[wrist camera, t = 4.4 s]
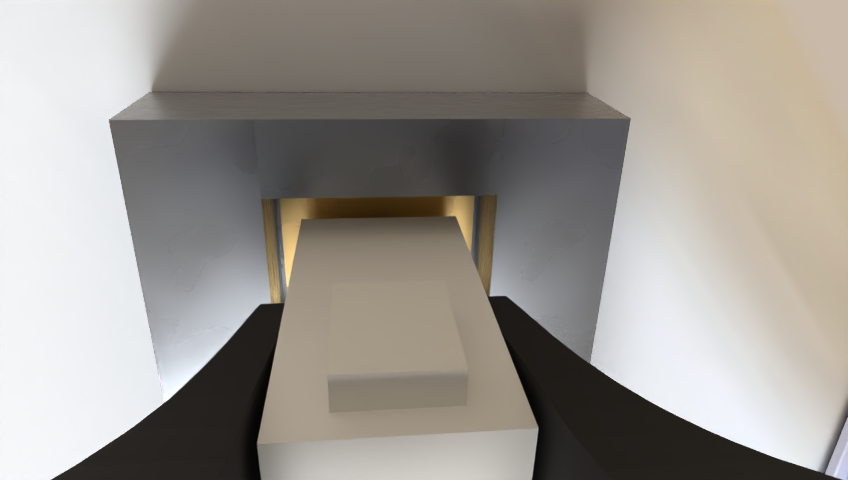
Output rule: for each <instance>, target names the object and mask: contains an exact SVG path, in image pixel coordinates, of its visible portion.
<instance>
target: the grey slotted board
mask: <svg viewBox="0 0 848 480" xmlns="http://www.w3.org/2000/svg"><path fill="white" fill-rule="evenodd" d="M630 119H631V118H629V117H627V116H625V115H624V114H622V113H620V112H619V111H617V110H615V109H614V108H612V107H610V106H609V105H607V104H605V103H604V102H602V101H600V100H599V99H597V98H595V97H593V96H592V95H590V94H588V93H298V92H149V93H148V94H146V95H145V96H143V97H142V98H140V99H139V100H137V101H136V102H135V103H133V104H132V105H130V106H129V107H127V108H126V109H124V110H123V111H121V112H120V113H118V114H117V115H115V116H114V117H112V118H111V119H109V123H110V128H111V133H112V138H113V143H114V148H115V154H116V159H117V164H118V169H119V174H120V179H121V184H122V189H123V194H124V199H125V205H126V210H127V215H128V220H129V225H130V230H131V235H132V240H133V245H134V251H135V256H136V261H137V266H138V271H139V276H140V281H141V286H142V291H143V297H144V302H145V307H146V312H147V317H148V322H149V327H150V332H151V337H152V343H153V348H154V353H155V358H156V363H157V368H158V373H159V378H160V383H161V388H162V394H163V399H164V403H165V402H166V401H167V400H168V399H170V398H171V397H172V396H173V395H174V394H175V393H176V392H177V391H178V390H179V389H181V388H182V387H183V386H184V385H185V384H186V383H187V382H188V381H189V380H190V379H191V378H192V377H193V376H194V375H195V374H196V373H197V372H198V371H200V370H201V369H202V368H203V367H204V366H205V365H206V364H207V362H208V361H209V360H210V359H211V358H212V357H213V356H214V355H215V354H216V353H217V352H218V351H219V350H220V349H221V348H222V347H223V345H224V344H225V343H226V342H227V341H228V340H229V339H230V338H231V337H232V335H233V334H234V333H235V332H236V331H237V330H238V329H239V327H240V326H241V325H242V324H243V323H244V322H245V320H246V319H247V318H248V317H249V316H250V315H251V313H252V312H253V311H254V310H255V309H256V308H257V307H258V306H259V305H260V304H270V303H285V299H286V294H287V289H288V284H289V279H290V274H291V269H292V264H293V259H294V254H295V249H296V244H297V239H298V234H299V229H300V224H301V219H335V218H387V217H439V216H456V218H457V221H458V223H459V226H460V228H461V231H462V233H463V236H464V238H465V241H466V244H467V246H468V249H469V251H470V254H471V256H472V259H473V261H474V264H475V267H476V269H477V272H478V274H479V277H480V279H481V282H482V285H483V287H484V290H485V292H486V295H487V296H507V297H508V298H509V299H511V300H512V301H513V302H514V303H515V304H517V305H518V306H519V307H520V308H521V309H522V310H524V311H525V312H526V313H527V314H528V315H529V316H531V317H532V318H533V319H534V320H535V321H536V322H538V323H539V324H540V325H541V326H542V327H543V328H545V329H546V330H547V331H548V332H549V333H551V334H552V335H553V336H554V337H556V338H557V339H558V340H559V341H560V342H562V343H563V344H564V345H566V346H567V347H568V348H569V349H571V350H572V351H573V352H575V353H576V354H577V355H579V356H580V357H581V358H583V359H584V360H585V361H587V362H588V363H590V359H591V353H592V347H593V341H594V335H595V329H596V323H597V317H598V311H599V305H600V299H601V293H602V287H603V281H604V275H605V269H606V263H607V257H608V251H609V245H610V239H611V233H612V227H613V221H614V215H615V209H616V203H617V197H618V191H619V185H620V179H621V173H622V167H623V161H624V155H625V149H626V143H627V137H628V131H629V125H630Z"/></svg>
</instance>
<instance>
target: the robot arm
mask: <svg viewBox="0 0 848 480" xmlns="http://www.w3.org/2000/svg"><path fill="white" fill-rule="evenodd" d="M487 297H488V300H489V302H490V305H491V308H492V310H493V313H494V315H495V318H496V320H497V323H498V326H499V328H500V331H501V333H502V336H503V338H504V341H505V343H506V346H507V349H508V351H509V354H510V356H511V359H512V361H513V364H514V367H515V369H516V372H517V374H518V377H519V379H520V382H521V384H522V387H523V390H524V392H525V395H526V397H527V400H528V402H529V405H530V408H531V410H532V413H533V415H534V418H535V420H536V423H537V425H538V428H539V429H538V437H537V445H536V452H535V460H534V468H533V475H532V480H848V417H847V420H846V422H845V425H844V427H843V430H842V432H841V435H840V437H839V440H838V442H837V445H836V447H835V450H834V452H833V455H832V457H831V460H830V462H829V465H828V467H827V470H826V472H825V474H823V473H820V472H817V471H814V470H811V469H808V468H805V467H802V466H798V465H795V464H792V463H789V462H786V461H783V460H780V459H777V458H774V457H771V456H769V455H766V454H764V453H761V452H759V451H756V450H753V449H751V448H748V447H746V446H743V445H741V444H738V443H735V442H733V441H730V440H728V439H726V438H724V437H721V436H719V435H717V434H714V433H712V432H710V431H707V430H705V429H703V428H701V427H699V426H697V425H695V424H693V423H691V422H688V421H686V420H684V419H682V418H680V417H678V416H676V415H674V414H672V413H670V412H668V411H666V410H664V409H662V408H660V407H659V406H657V405H655V404H653V403H651V402H649V401H648V400H646V399H644V398H643V397H641V396H639V395H638V394H636V393H634V392H632V391H631V390H629V389H627V388H626V387H624V386H622V385H621V384H619V383H618V382H616V381H614V380H613V379H611V378H610V377H608V376H607V375H605V374H604V373H602V372H601V371H600V370H598V369H597V368H595V367H594V366H592V365H591V364H590V363H588V362H587V361H585V360H584V359H583V358H581V357H580V356H579V355H577V354H576V353H575V352H573V351H572V350H571V349H569V348H568V347H567V346H566V345H564V344H563V343H562V342H560V341H559V340H558V339H557V338H556V337H554V336H553V335H552V334H551V333H549V332H548V331H547V330H546V329H545V328H543V327H542V326H541V325H540V324H539V323H538V322H536V321H535V320H534V319H533V318H532V317H531V316H529V315H528V314H527V313H526V312H525V311H524V310H522V309H521V308H520V307H519V306H518V305H517V304H515V303H514V302H513V301H512V300H511V299H509V298H508V297H507V296H487ZM284 305H285V303H270V304H260V305H259V306H258V307H257V308H256V309H255V310H254V311H253V312H252V313H251V315H250V316H249V317H248V318H247V319H246V320H245V322H244V323H243V324H242V325H241V326H240V327H239V329H238V330H237V331H236V332H235V333H234V334H233V335H232V337H231V338H230V339H229V340H228V341H227V342H226V343H225V344H224V345H223V347H222V348H221V349H220V350H219V351H218V352H217V353H216V354H215V355H214V356H213V357H212V358H211V359H210V360H209V361H208V362H207V364H206V365H205V366H204V367H203V368H202V369H201V370H200V371H198V372H197V373H196V374H195V375H194V376H193V377H192V378H191V379H190V380H189V381H188V382H187V383H186V384H185V385H184V386H183V387H182V388H181V389H179V390H178V391H177V392H176V393H175V394H174V395H173V396H172V397H171V398H170V399H168V400H167V401H166V402H165V403H164V404H162V405H161V406H160V407H159V408H157V409H156V410H155V411H154V412H152V413H151V414H150V415H148V416H147V417H146V418H144V419H143V420H142V421H141V422H139V423H138V424H137V425H135V426H134V427H133V428H131V429H130V430H128V431H127V432H126V433H124V434H123V435H121V436H120V437H118V438H117V439H115V440H114V441H112V442H111V443H109V444H108V445H106V446H105V447H103V448H101V449H100V450H98V451H97V452H95V453H94V454H92V455H91V456H89V457H88V458H86V459H85V460H83V461H82V462H80V463H79V464H77V465H75V466H74V467H72V468H70V469H69V470H67V471H65V472H64V473H62V474H60V475H58V476H57V477H55V478H53V479H52V480H261V475H260V466H259V458H258V450H257V441H258V436H259V431H260V426H261V421H262V416H263V411H264V406H265V400H266V395H267V390H268V385H269V380H270V375H271V370H272V365H273V360H274V355H275V350H276V345H277V340H278V335H279V330H280V325H281V320H282V315H283V310H284Z"/></svg>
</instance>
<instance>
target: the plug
mask: <svg viewBox="0 0 848 480" xmlns="http://www.w3.org/2000/svg"><path fill="white" fill-rule="evenodd" d="M538 429H539V428H538V425H537V423H536V420H535V418H534V415H533V413H532V410H531V408H530V405H529V402H528V400H527V397H526V395H525V392H524V390H523V387H522V384H521V382H520V379H519V377H518V374H517V372H516V369H515V367H514V364H513V361H512V359H511V356H510V354H509V351H508V349H507V346H506V343H505V341H504V338H503V336H502V333H501V331H500V328H499V326H498V323H497V320H496V318H495V315H494V313H493V310H492V308H491V305H490V302H489V300H488V297H487V295H486V292H485V290H484V287H483V285H482V282H481V279H480V277H479V274H478V272H477V269H476V267H475V264H474V261H473V259H472V256H471V254H470V251H469V249H468V246H467V244H466V241H465V238H464V236H463V233H462V231H461V228H460V226H459V223H458V221H457V218H456V216H439V217H387V218H335V219H301V224H300V229H299V234H298V239H297V244H296V249H295V254H294V259H293V264H292V269H291V274H290V279H289V284H288V289H287V294H286V299H285V305H284V310H283V315H282V320H281V325H280V330H279V335H278V340H277V345H276V350H275V355H274V360H273V365H272V370H271V375H270V380H269V385H268V390H267V395H266V400H265V406H264V411H263V416H262V421H261V426H260V431H259V436H258V441H257V450H258V458H259V466H260V475H261V480H532V475H533V468H534V460H535V452H536V445H537V437H538Z"/></svg>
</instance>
